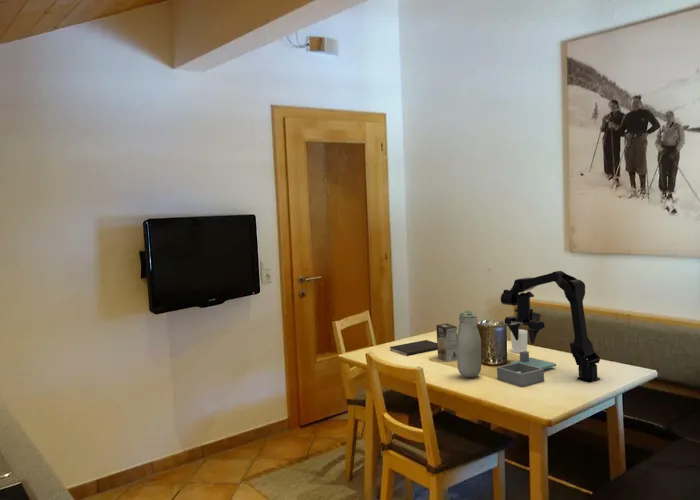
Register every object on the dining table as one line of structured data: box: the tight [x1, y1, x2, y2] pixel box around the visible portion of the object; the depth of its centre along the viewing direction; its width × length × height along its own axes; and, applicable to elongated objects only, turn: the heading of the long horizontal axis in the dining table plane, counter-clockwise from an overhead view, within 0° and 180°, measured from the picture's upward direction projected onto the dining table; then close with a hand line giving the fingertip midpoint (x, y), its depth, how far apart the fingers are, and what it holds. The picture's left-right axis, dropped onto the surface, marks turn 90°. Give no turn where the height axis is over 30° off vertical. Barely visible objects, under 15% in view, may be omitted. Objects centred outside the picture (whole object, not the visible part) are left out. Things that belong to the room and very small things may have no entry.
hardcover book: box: [389, 339, 438, 357], centre depth 309 cm, size 16×23×2 cm
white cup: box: [509, 329, 528, 354], centre depth 292 cm, size 8×8×10 cm
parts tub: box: [496, 362, 545, 388], centre depth 247 cm, size 14×12×5 cm
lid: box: [509, 351, 557, 371], centre depth 263 cm, size 15×13×6 cm
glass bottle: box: [456, 310, 482, 378], centre depth 255 cm, size 10×10×28 cm
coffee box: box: [436, 323, 458, 363], centre depth 286 cm, size 9×6×16 cm
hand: (524, 341), depth 267 cm, fingers open, 9 cm apart
